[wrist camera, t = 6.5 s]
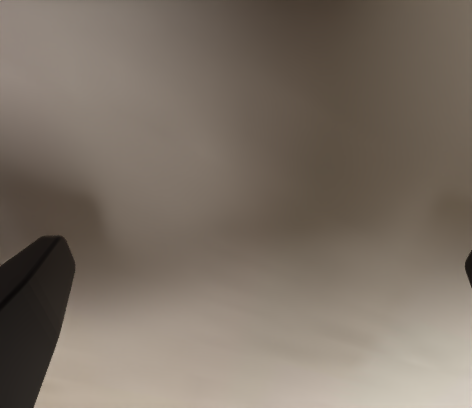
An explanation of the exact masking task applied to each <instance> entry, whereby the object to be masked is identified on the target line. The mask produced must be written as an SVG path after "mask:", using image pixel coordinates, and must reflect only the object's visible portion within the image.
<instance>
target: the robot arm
mask: <svg viewBox="0 0 472 408" xmlns="http://www.w3.org/2000/svg"><path fill="white" fill-rule="evenodd" d="M465 270H466V273H467V276H468V279H469V282H470V285H471V287H472V250H471V252H470V254H469V256H468V257H467V259H466V262H465ZM74 273H75V261H74V258H73V256H72V253H71V251H70V249H69V246H68V244H67V241H66V239H65V238H64V237H63V236H42V237H40V238H39V239H37V240H36V241H34V242H33V243H32V244H30V245H29V246H28V247H26V248H25V249H23V250H22V251H21V252H19V253H18V254H17V255H15V256H14V257H12V258H11V259H10V260H8V261H7V262H6V263H4V264H3V265H1V266H0V408H34V405H35V402H36V399H37V397H38V394H39V391H40V388H41V386H42V383H43V380H44V377H45V375H46V372H47V369H48V366H49V364H50V361H51V358H52V355H53V353H54V350H55V347H56V344H57V341H58V338H59V335H60V331H61V327H62V323H63V319H64V315H65V311H66V307H67V303H68V298H69V294H70V290H71V286H72V282H73V278H74Z"/></svg>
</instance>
